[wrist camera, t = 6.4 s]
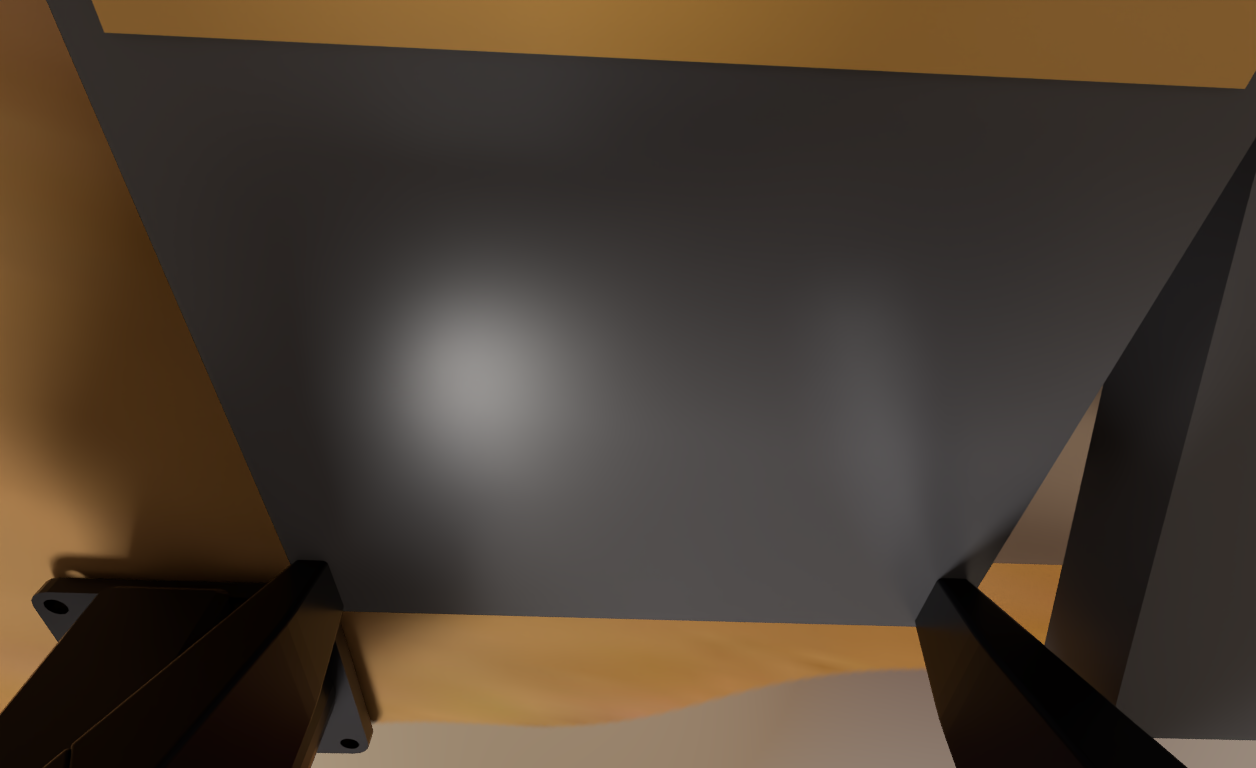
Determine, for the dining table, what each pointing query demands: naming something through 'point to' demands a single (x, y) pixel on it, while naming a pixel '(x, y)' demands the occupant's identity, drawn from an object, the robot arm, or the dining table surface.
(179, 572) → the dining table surface
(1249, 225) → the rocker outer
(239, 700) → the robot arm
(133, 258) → the dining table surface
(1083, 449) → the switch unit
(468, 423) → the block
